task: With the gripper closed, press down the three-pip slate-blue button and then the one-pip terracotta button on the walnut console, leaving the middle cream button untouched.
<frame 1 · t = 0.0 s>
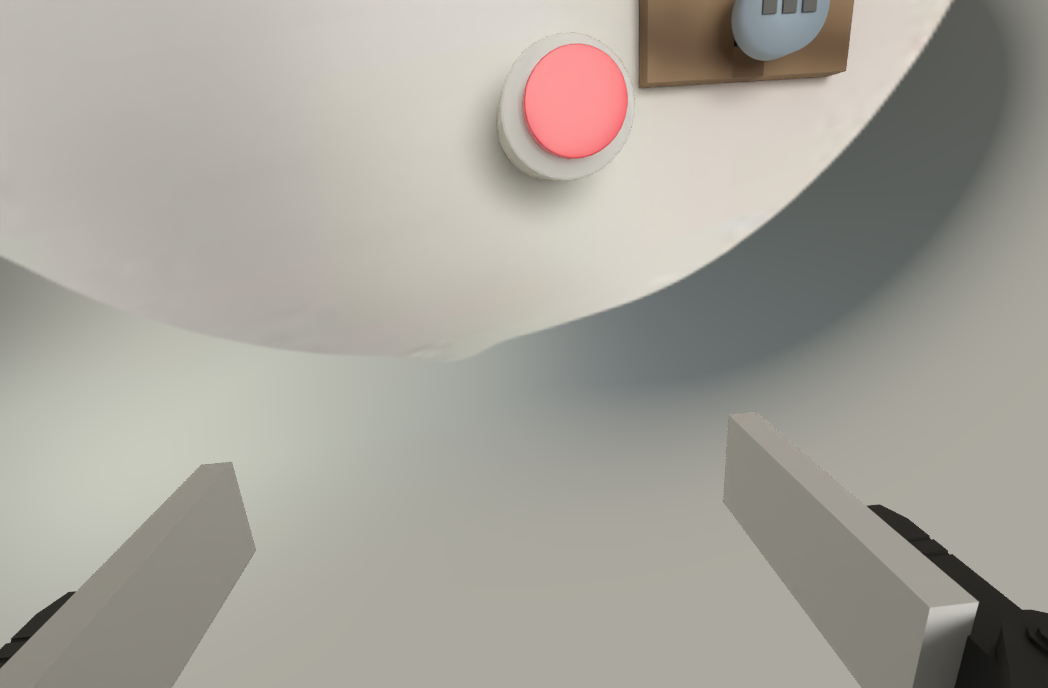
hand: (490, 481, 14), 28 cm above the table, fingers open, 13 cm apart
button 3: (770, 15, 32), point 4 cm above the table, slide at 0.0 cm
pill bottle: (549, 124, 38), on the table
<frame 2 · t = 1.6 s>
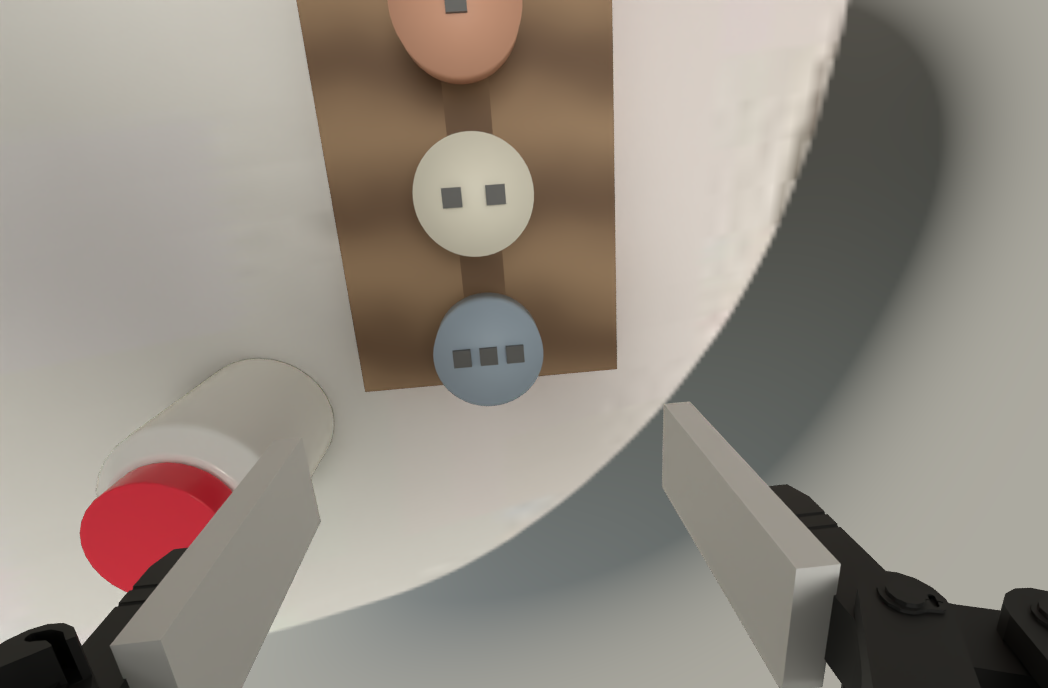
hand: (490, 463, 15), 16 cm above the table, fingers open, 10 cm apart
button 2: (474, 194, 23), point 4 cm above the table, slide at 0.0 cm
console: (475, 192, 28), on the table
button 1: (457, 16, 21), point 5 cm above the table, slide at 0.0 cm
button 3: (488, 342, 25), point 5 cm above the table, slide at 0.0 cm
pill bottle: (268, 418, 31), on the table
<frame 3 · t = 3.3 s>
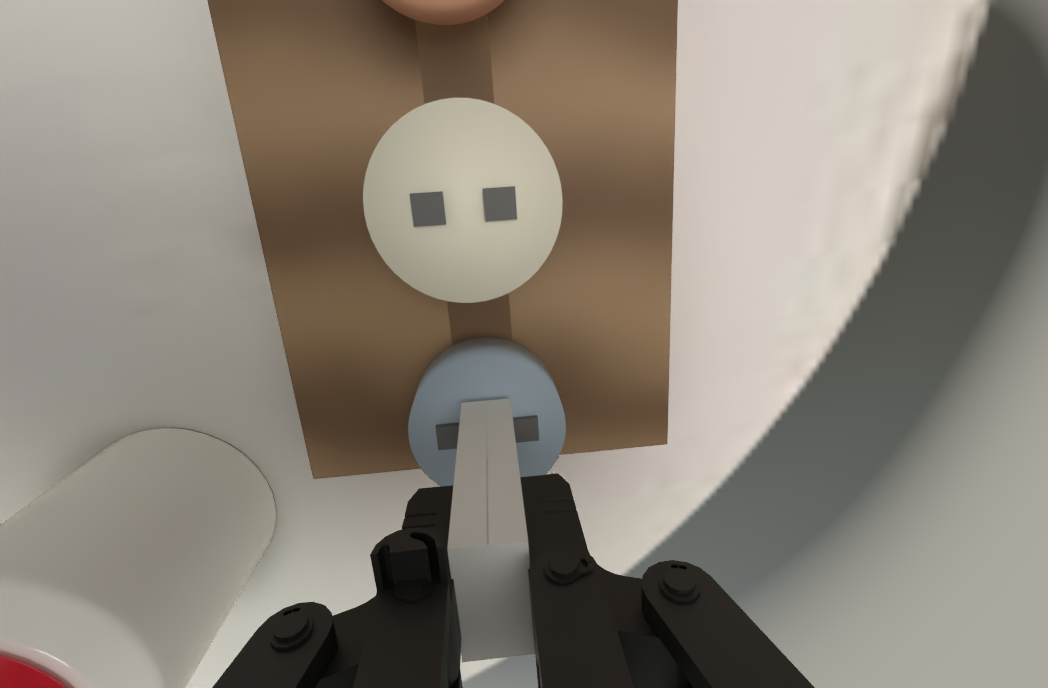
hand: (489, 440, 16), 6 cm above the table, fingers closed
button 2: (466, 202, 15), point 4 cm above the table, slide at 0.0 cm
console: (469, 197, 19), on the table
button 3: (487, 404, 18), point 3 cm above the table, slide at 1.3 cm, touching gripper
pill bottle: (186, 505, 22), on the table
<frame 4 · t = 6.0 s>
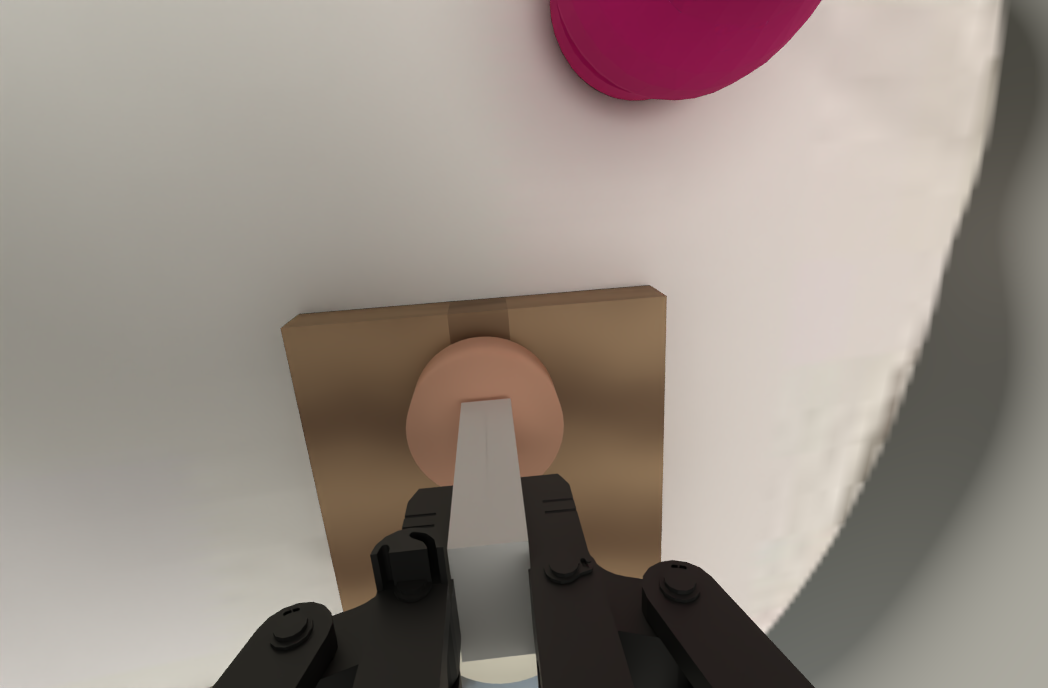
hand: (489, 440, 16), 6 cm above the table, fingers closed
button 2: (501, 584, 20), point 4 cm above the table, slide at 0.0 cm
pepper mill: (636, 4, 18), on the table
console: (498, 511, 24), on the table
button 1: (485, 403, 18), point 3 cm above the table, slide at 1.1 cm, touching gripper
button 3: (513, 686, 23), point 3 cm above the table, slide at 1.4 cm
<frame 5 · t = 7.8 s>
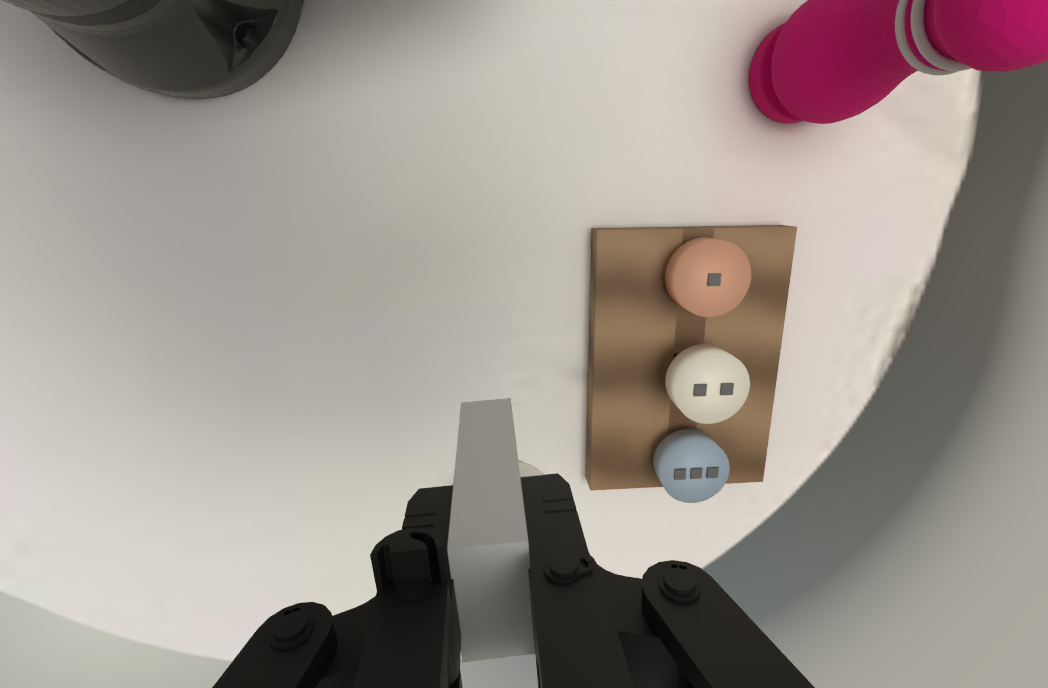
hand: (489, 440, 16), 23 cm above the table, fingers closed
button 2: (700, 378, 36), point 4 cm above the table, slide at 0.0 cm
pepper mill: (791, 74, 35), on the table
console: (677, 358, 40), on the table
button 1: (701, 274, 35), point 3 cm above the table, slide at 1.4 cm
button 3: (685, 458, 39), point 3 cm above the table, slide at 1.4 cm
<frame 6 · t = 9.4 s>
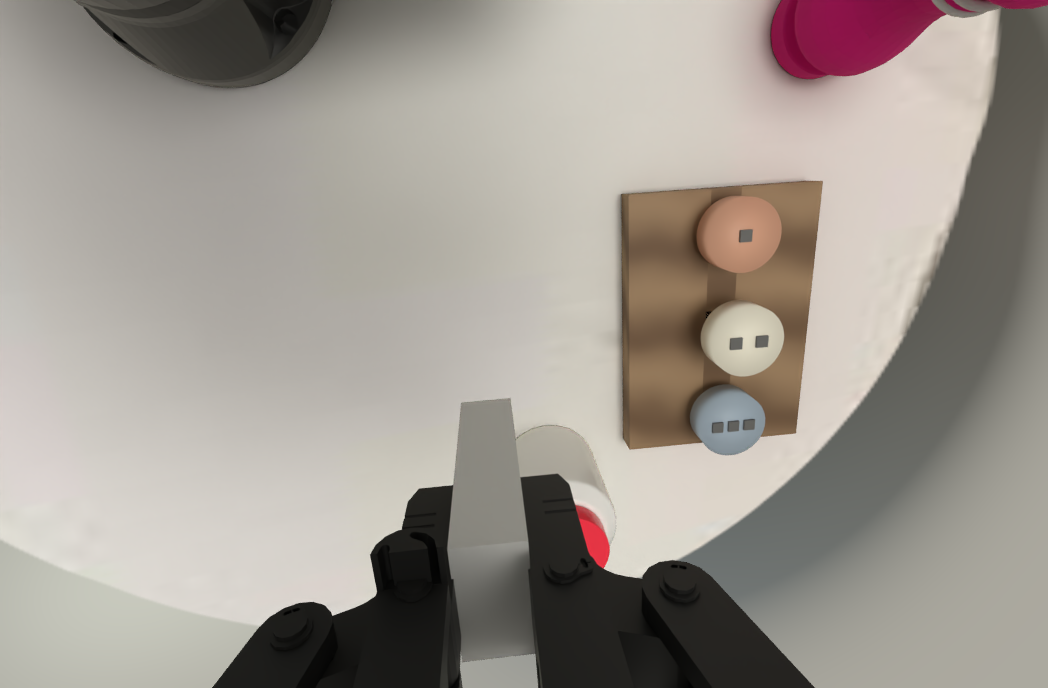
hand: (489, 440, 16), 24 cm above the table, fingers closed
button 2: (734, 333, 37), point 4 cm above the table, slide at 0.0 cm
pepper mill: (812, 30, 36), on the table
console: (708, 317, 41), on the table
button 1: (731, 232, 36), point 3 cm above the table, slide at 1.4 cm
button 3: (721, 413, 41), point 3 cm above the table, slide at 1.4 cm
pill bottle: (548, 464, 45), on the table
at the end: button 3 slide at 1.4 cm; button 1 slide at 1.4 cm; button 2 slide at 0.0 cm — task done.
